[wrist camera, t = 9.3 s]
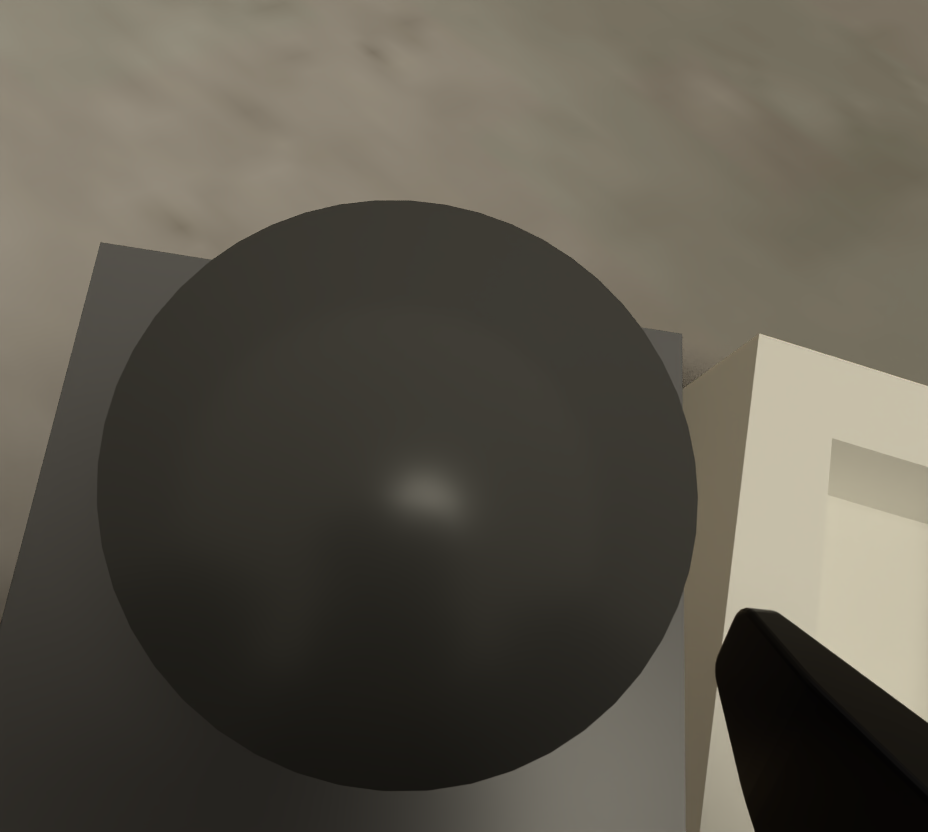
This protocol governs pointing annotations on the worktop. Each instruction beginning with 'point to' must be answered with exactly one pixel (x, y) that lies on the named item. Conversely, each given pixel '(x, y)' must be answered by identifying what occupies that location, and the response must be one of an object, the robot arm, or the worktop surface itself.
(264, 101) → the worktop surface
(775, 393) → the power strip
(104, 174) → the worktop surface
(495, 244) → the plug
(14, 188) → the worktop surface
